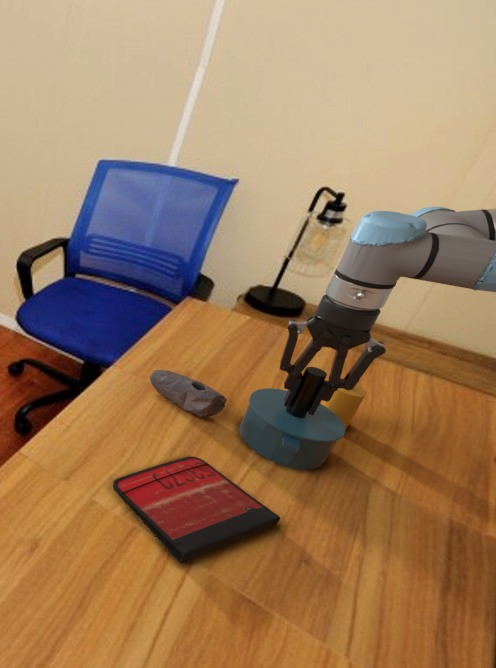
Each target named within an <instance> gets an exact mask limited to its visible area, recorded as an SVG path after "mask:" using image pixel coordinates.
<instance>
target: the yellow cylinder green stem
mask: <svg viewBox="0 0 496 668" xmlns="http://www.w3.org/2000/svg"><path fill="white" fill-rule="evenodd" d="M359 383H360V379H359V381H358V382H357V383H356V385H355V386H354V387H353V389H352V390H346V389H344V388H338V390H337V391H335V392H334V394H333V396H332V397H331V399H330V401H328V402H326V401H323V400H321V402H320V404H322V405H323V406H325V407H327V408H328V409H329V410H331V411H332V412H333V413H335V414H336V415H337V416H338V417H339V418H340V420H341V421H342V422H343V424H344V427H345V430H346V429H347V428H348V426H349V425H350V423H351V421H352V420H353V418H354V416H355V414H356V412H357V411H358V409H359V407H360V406H361V404H362V402H363V400H365V397H366V395H367V391H366V390H365V389H364V388H363V387H361V386H360V385H358V384H359Z"/></svg>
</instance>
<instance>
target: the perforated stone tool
mask: <svg viewBox="0 0 496 668" xmlns="http://www.w3.org/2000/svg"><path fill="white" fill-rule="evenodd" d="M149 381H150V384H151V386H152V387H153V388H154V390H156V392H158V393H159V394H160V395H161V396H162V397H164V398H166V399H168V400H169V401H170V402H171V403H172V404H175V405H176V406H178V407H179V408H181V409H182V410H184V411H186V412H189V413H191V414H193V415H196V416H197V417H199V418H206V417H213V416H215V415H218V414H220V413H221V412H222V411H223V409H224V408H226V403H227V401H228V399H227V398H226V397H225V396H224V395H223V394H222V393H220V392H219V391H216V390H215V389H213V388H212V387H210V386H208V385H207V384H205V383H202V382H201V381H199V380H196V379H194V378H191V377H189V376H186V375H183V374H180V373H178V372H175V371H171V370H168V369H167V370H166V369H155V370H153V371H152V373H151V374H150V375H149Z"/></svg>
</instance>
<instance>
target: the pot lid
mask: <svg viewBox="0 0 496 668" xmlns="http://www.w3.org/2000/svg"><path fill="white" fill-rule="evenodd" d="M327 376H328V373H327V372H326V370H323V369H322V368H319V367H316V366H306V367H305V369H304V370H303V373H302V382H301V384H300V386H299V388H298V390H297V392H296V394H295V396H294V398H293V400H292V402H291V404H290V406H289V407H286V406H284V398H285V396H286V394H287V392H288V391H287V389H281V388H260V389H257V390H254V391H253V392H251V394H250V396H249V399H248V403H249V404H250V406H251V408H252V410H253V411H254V412H255V413H256V415H257V416H259V417H260V418H261V419H262V420H263V421H265V422H266V423H268V424H269V425H271V426H272V427H274V428H276V429H278V430H280V431H282V432H284V433H286V434H289V435H291V436H294V437H297V438H300V439H304V440H308V441H313V442H324V443H326V442H334V441H337V442H338V441H339V440H342V438H343V437H344V435H345V433H346V429H345V427H344V424H343V422H342V421H341V420H340V418H339V417H338V416H337V415H336V414H335V413H333V412H332V411H331V410H329V409H328V408H327V407H325V406H323V405H322V404H321V403H320V404H319V406H318V408H317V410H316V412H315V414H314V415H310V414H308V410H309V409H310V407H311V405H312V403H313V401H314V399H315V397H316V395H317V393H318V391H319V389H320V388H321V386H322V384H323V382H324V380H326V378H327ZM249 404H248V405H249Z"/></svg>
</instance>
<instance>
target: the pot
mask: <svg viewBox="0 0 496 668" xmlns="http://www.w3.org/2000/svg"><path fill="white" fill-rule="evenodd" d="M286 391H288V389H286ZM238 430H239V431H238V432H239V434H240V437H241V438H242V440H243V441H244V443H245V444H246V445H247V446H248V447H249V448H250V449H252V450H253V451H254V452H255V453H257V454H259V455H260V456H262V457H263V458H265V459H267V460H269V461H271V462H273V463H276V464H278V465H281V466H283V467H287V468H290V469H291V468H292V469H294V470H305V471H307V470H310V471H311V470H316V469H318V468H320V467H321V466H323V464H324V463H325V462H327V459H328V458H329V455H330V454H331V452H332V450H333V449H334V448H335V445H336V444H337V442H338V440H337V441H334V442H326V443H324V442H313V441H308V440H304V439H300V438H297V437H294V436H291V435H289V434H286V433H284V432H282V431H280V430H278V429H276V428H274V427H272V426H271V425H269V424H268V423H266V422H265V421H263V420H262V419H261V418H260V417H259V416H257V415H256V413H255V412H254V411H253V410H252V408H251V406H250V404H248V406H247V408H246V410H245V412H244V414H243V417H242V419H241V422H240V426H239V429H238Z"/></svg>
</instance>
